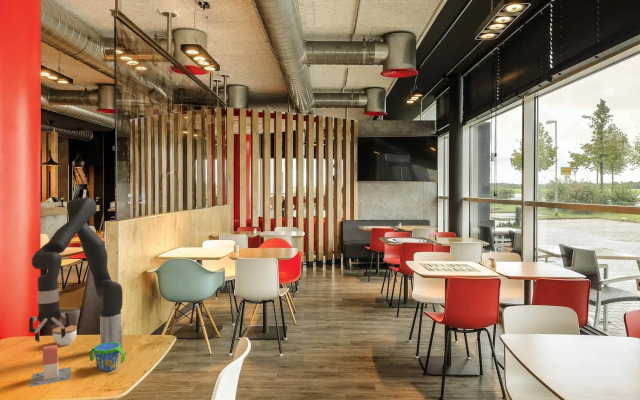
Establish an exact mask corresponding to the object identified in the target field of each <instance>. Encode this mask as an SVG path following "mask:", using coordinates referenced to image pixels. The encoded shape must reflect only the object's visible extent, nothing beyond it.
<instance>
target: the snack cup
mask: <svg viewBox="0 0 640 400" xmlns="http://www.w3.org/2000/svg"><path fill="white" fill-rule="evenodd" d="M119 355H120V356H121V357H120V356H119ZM119 357H120V364H123V363H124V362H125V360H126V356H125V352H124V350H123V347H122V348H120V343H117V342H107V343H102V344H101V343H99V344H97V345H95V346H94V347H93V348H91V350H90V353H89V360H90V361H91V362H93V361H94V360H95V363H96V367H97V370H98V371H100V372H101V371H103V372H104V371H105V373H108V372H112V371H115V370H116V369H117V368H118V361H119Z"/></svg>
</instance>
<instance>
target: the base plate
mask: <svg viewBox="0 0 640 400" xmlns="http://www.w3.org/2000/svg"><path fill="white" fill-rule="evenodd" d="M71 370H72V367H71V366H69V367H63V368H58V378H52V379H47V380H44V376H43V371H40V372H35V373H31V379H30V381H29V382H30V383H29V388H31V387H36V386H42V385H46V384H51V383H52V384H53V383H57V382H63V381H69V380H71V376H72V375H71Z"/></svg>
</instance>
